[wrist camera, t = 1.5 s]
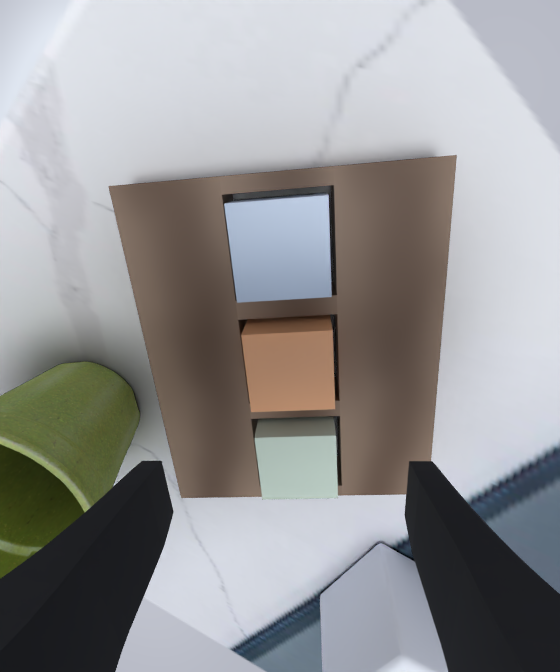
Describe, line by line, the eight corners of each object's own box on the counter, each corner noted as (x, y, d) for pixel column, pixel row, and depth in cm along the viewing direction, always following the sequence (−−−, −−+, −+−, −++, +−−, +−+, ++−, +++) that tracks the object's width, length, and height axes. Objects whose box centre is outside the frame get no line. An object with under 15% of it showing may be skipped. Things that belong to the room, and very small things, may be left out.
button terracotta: (257, 386, 21) (251, 412, 18) (248, 316, 19) (241, 335, 17) (331, 383, 20) (335, 409, 18) (329, 312, 19) (332, 330, 17)
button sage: (266, 467, 23) (262, 499, 21) (259, 410, 21) (254, 437, 19) (334, 466, 22) (337, 498, 20) (332, 408, 21) (336, 435, 19)
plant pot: (198, 392, 23) (139, 511, 15) (126, 488, 26) (46, 629, 18) (52, 301, 21) (-105, 378, 13) (-6, 416, 24) (-159, 534, 16)
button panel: (192, 467, 25) (181, 497, 22) (133, 184, 18) (108, 186, 16) (416, 462, 24) (428, 494, 21) (436, 157, 17) (456, 155, 15)
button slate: (245, 287, 19) (236, 302, 16) (234, 199, 17) (224, 203, 15) (328, 282, 18) (331, 297, 16) (325, 192, 17) (328, 195, 15)
